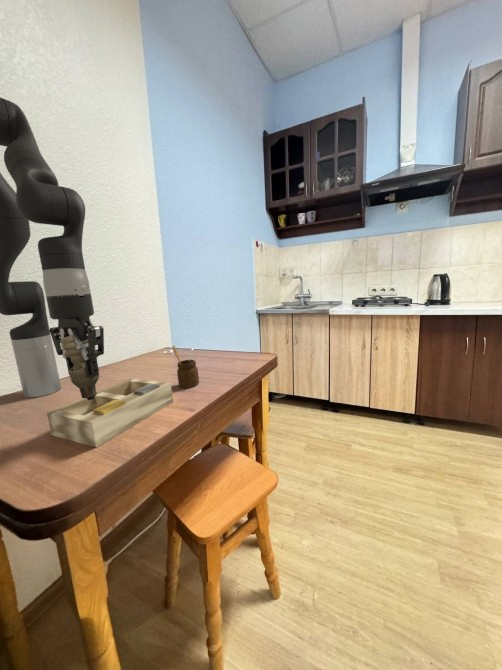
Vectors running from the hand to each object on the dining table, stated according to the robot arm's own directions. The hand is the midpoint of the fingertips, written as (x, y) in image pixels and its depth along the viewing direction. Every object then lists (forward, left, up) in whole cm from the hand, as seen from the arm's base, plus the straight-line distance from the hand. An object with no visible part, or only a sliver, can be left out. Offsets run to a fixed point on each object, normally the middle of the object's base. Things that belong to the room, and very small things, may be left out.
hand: (84, 375), depth 58 cm
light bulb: (0, 0, -6) cm, 6 cm away
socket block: (+1, +5, -12) cm, 13 cm away
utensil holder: (+4, +27, -12) cm, 30 cm away
